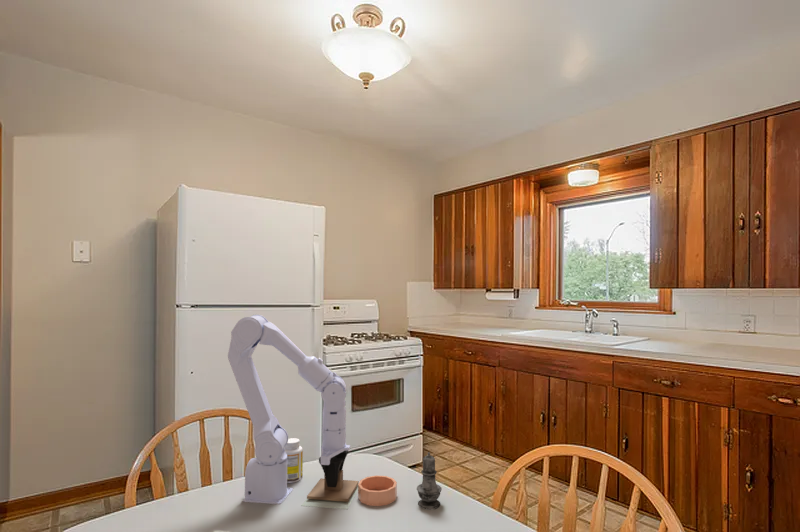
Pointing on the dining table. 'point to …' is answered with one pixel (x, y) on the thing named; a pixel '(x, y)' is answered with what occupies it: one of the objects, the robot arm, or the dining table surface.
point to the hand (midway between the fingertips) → (333, 483)
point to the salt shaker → (429, 485)
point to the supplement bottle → (294, 460)
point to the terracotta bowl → (377, 490)
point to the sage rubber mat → (330, 502)
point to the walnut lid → (333, 489)
